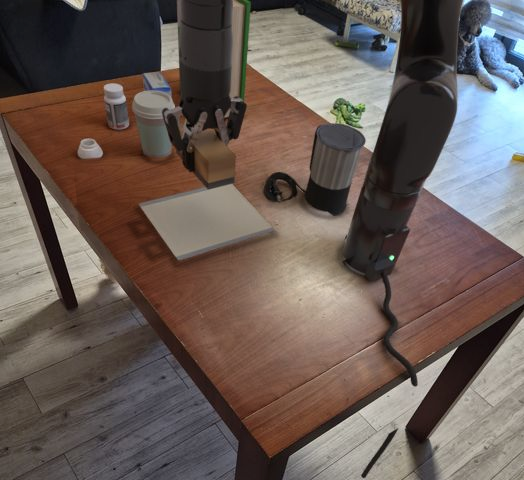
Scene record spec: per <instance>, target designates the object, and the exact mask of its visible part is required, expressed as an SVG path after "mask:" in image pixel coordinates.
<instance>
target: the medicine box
mask: <svg viewBox="0 0 524 480" xmlns="http://www.w3.org/2000/svg"><path fill="white" fill-rule="evenodd" d="M142 82H143V91H149V90H154V91H161V92H164V93H166V94H168V95H170V96H171V98H172V99H173V97H172V96H173V95H172V88H171V85H170V84H169V83H168V82H167V79H165V77H164V76H163V74H162V73H161V72H144V73H142Z"/></svg>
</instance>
